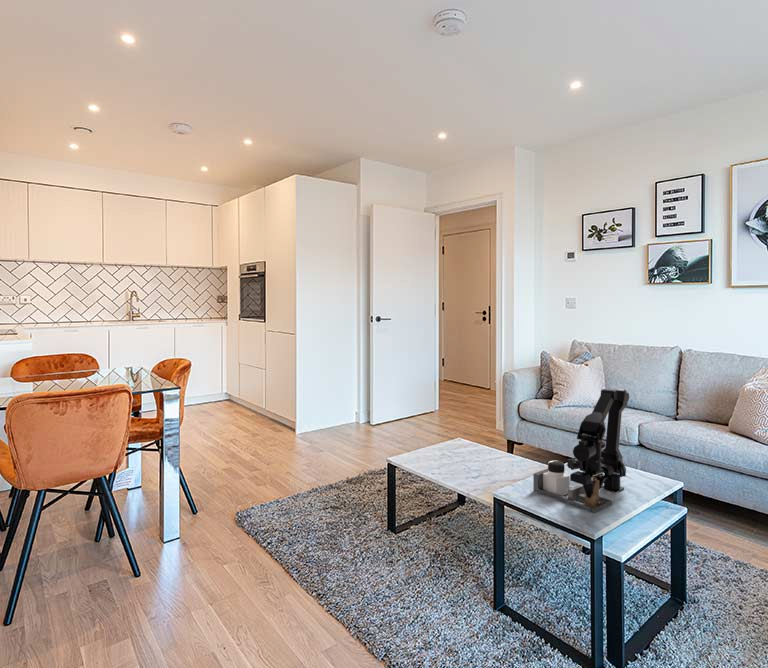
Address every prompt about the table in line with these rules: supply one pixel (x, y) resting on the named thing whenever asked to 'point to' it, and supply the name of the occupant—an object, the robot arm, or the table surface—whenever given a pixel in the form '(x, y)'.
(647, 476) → the table surface
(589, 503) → the press carriage
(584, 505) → the frame
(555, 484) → the medicine bottle
